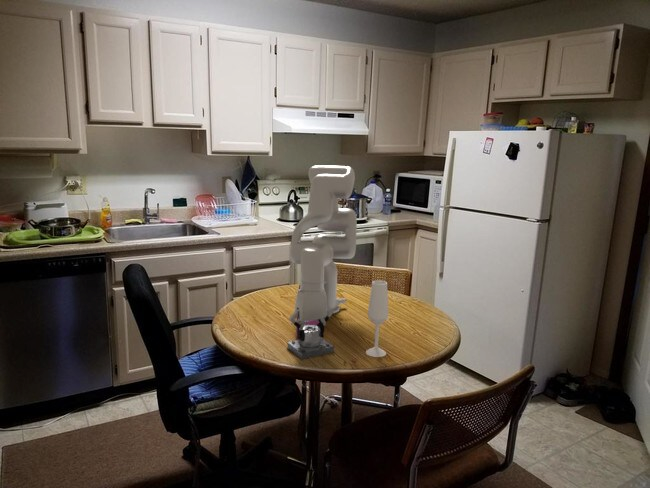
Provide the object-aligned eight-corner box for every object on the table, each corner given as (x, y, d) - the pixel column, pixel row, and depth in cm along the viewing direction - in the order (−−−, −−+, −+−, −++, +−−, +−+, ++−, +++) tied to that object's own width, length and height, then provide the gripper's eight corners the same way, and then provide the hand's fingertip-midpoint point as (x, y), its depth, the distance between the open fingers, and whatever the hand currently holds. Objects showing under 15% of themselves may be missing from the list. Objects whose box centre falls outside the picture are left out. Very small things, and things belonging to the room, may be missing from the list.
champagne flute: (383, 348, 161) (387, 279, 156) (388, 356, 154) (392, 285, 150) (363, 348, 160) (367, 279, 155) (368, 357, 153) (371, 285, 149)
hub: (313, 337, 162) (314, 323, 161) (323, 344, 157) (324, 330, 156) (296, 341, 159) (296, 326, 158) (306, 348, 154) (306, 334, 152)
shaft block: (318, 341, 165) (318, 322, 164) (333, 351, 157) (334, 331, 155) (287, 347, 159) (287, 328, 158) (301, 359, 151) (302, 338, 149)
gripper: (328, 279, 161) (327, 329, 165) (282, 286, 152) (282, 338, 156) (340, 285, 155) (339, 337, 159) (293, 292, 146) (292, 347, 150)
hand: (310, 337), depth 157 cm, fingers closed on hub, 6 cm apart
